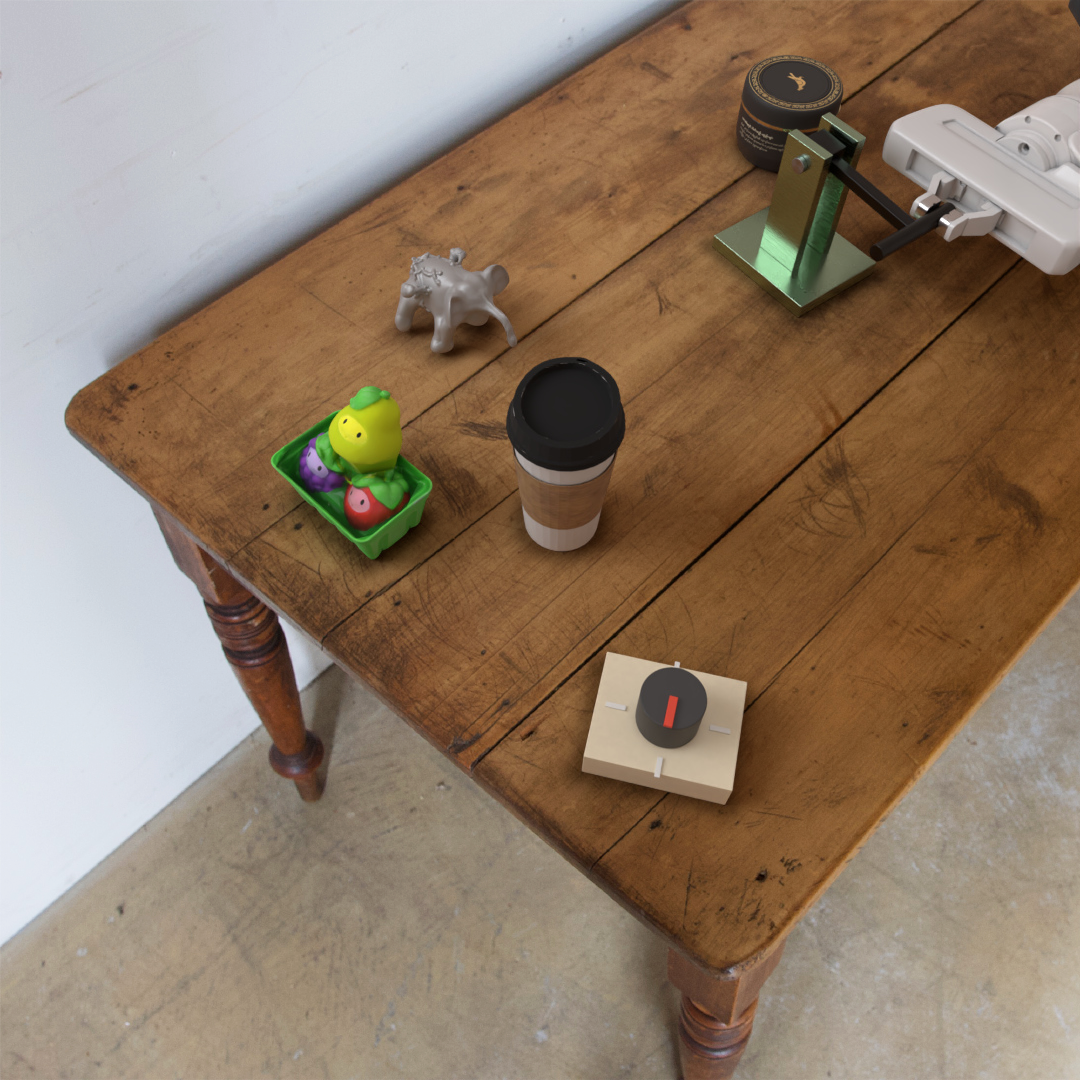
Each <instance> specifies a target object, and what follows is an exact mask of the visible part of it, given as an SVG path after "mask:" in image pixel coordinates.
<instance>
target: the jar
mask: <svg viewBox="0 0 1080 1080" xmlns="http://www.w3.org/2000/svg"><path fill="white" fill-rule="evenodd" d="M740 95H741V96H740V105H739V109H738V116H737V120H736V127H735V134H736V143H737V147H738V150H739V151H740V153H741V154H742V156H743V157H744V158H745V160H746V161H748V162H749V163H750V164H752V165H753V166H755V167H757V168H759V169H761V170H764V171H766V172H771V173H776V174H778V172H779V168H780V164H781V160H782V156H783V152H784V148H785V144H786V140H787V136H788V133H789V132H791V131H793V130H795V129H797V130H799V131H800V132H802V133H803V134H804V135H806V136H807V137H808V136H810V135H812V134H814V133H816V132H817V131H818V127H819V124H820V120H821V117H822V116H823V115H825V114H827V113H829V112H830V113H831V114H833V115H834V116H836V117H837V118H838V117H839V114H840V112H841V107H842V100H843V96H844V84H843V81H842V79H841V77H840V76H839V74H838V73H837V71H836V70H834V69H832V67H830V66H829V65H828V64H825V63H824V62H822V61H820V60H817V59H815V58H812V57H808V56H804V55H796V54H780V55H774V56H769V57H767V58H763V59H761V60H760V61H758V62H756V63H755V64H754V65H753V66H752V67H751V68H750V69H749V70H748V72H747V74H746V76H745V79H744V82H743V87H742V90H741V94H740Z"/></svg>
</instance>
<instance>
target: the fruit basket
mask: <svg viewBox="0 0 1080 1080" xmlns="http://www.w3.org/2000/svg"><path fill="white" fill-rule="evenodd" d="M402 446H403V430H402V426H401V409H400V406H399V404H398V402H397V401H396V399H394V398H393V397H392V396H391V392H390V391H389V390H385V389H383V390H382V389H381V388H379V387H377V386H375V385H367V386H364V387H362V388H360V389H359V390H358V392H357V393H356V395H355V396H354V397H351V398H350V399H349V404H348V405H346V406H344V407H343V408H342V409H337V410H335V411H333V412H331V413H330V414H329V415H327V416H326V417H325V418H323V419H322V420H319V421H318V422H317V423H315V424H313V426H311V427H310V428H308V429H307V430H305V431H303V432H302V433H301V434H299V435H298V436H297V437H296V438H294V439H292V440H291V441H290V442H288V443H287V444H285V445H283V446H282V447H281V448H280V449H279V450H278V451H276V452H275V453H274V454H273V455H272V456H271V459H270V464H271V466H272V467H273V469H275V470H276V472H277V473H278V474H279V475H280V476H282V478H284V479H285V480H286V481H287V482H288V483H289V484H290V485H291V486H292V487H293V488H294V490H295V491H296V492H297V493H298V495H299V496H300V497H301V498H302V499H303V500H304V501H306V503H307V504H309V505H310V506H311V507H313V508H315V509H316V510H317V512H318V513H319V514H320V515H321V516H322V517H323V518H324V519H325V520H327V521H328V523H330V524H331V525H333V526H335V528H337V530H338V531H339V532H340V533H341V534H342V535H343V536H344V537H345V538H346V539H347V540H349V541H350V542H351V543H354V544H355V545H356V546H357V548H358V549H359V550H360V551H361V552H362V553H363V554H364V555H365V556H367V558H368V559H369V560H372V561H373V560H376V559H377V558H379V556H380V554H382V552H383V551H385V550H386V549H389V548H391V547H392V546H393V545H394V544H395V543H396V542H398V541H399V540H401V538H403V537H404V536H405V535H406V534H407V533H408V532H409V529H412V528H414V527H416V526H418V525H419V523H420V522H421V519H422V516H423V513H424V509H425V506H426V502H427V500H428V499H429V497H430V494H431V493H432V489H433V482H432V480H431V479H430V477H428V476H427V475H425V474H424V473H423V472H422V471H421V470H419V468H417V467H416V466H415V465H414V464H412V463H411V462H410V461H409V460H408V459H407V458H405V457H404V456H403V455H402V454H400V452H401V450H402Z"/></svg>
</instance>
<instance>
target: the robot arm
mask: <svg viewBox="0 0 1080 1080" xmlns="http://www.w3.org/2000/svg"><path fill="white" fill-rule="evenodd" d="M1067 6H1068V9H1069V11H1070V13H1071V15H1072V16H1073V18H1074V20H1075V21H1076V23H1077V25H1078V26H1079V27H1080V0H1068V5H1067ZM881 154H882V156H881V159H882V160H883V162H884V163H885V164H887V165H888V166H890V167H891V168H892V169H894V170H895V171H897V172H898V173H900V174H901V175H903V176H904V177H906V178H907V179H908V180H909V181H911V182H913V183H914V184H916V185H917V186H919V187H920V188H922V189H923V190H924V191H926V192H925V193H923V194H921V195H919V196H918V197H917V198H916V199H915V200H914V201H913V202H912V205H911V207H910V210H909V216H910V217H912V218H913V219H914V220H917V219H919V218H920V217H922V216H924V215H925V214H927V213H929V212H931V211H932V210H934V209H936V208H938V207H939V206H941V204H944V203H946V202H950V203H952V204H954V206H955V207H956V210H955V209H954V210H952V211H950V212H949V214H945V215H944V216H943V217H942V218H941V219H940V220H939V222H938V227H937V228H936V229H934V233H935V234H937V235H938V236H940V237H941V238H942V239H943V240H945V241H946V242H947V243H951V242H952V241H953V240H955V239H957V238H958V237H960V236H961V237H976V236H977V237H982V236H986V234H987V235H990V236H991V237H992V238H994V239H995V240H997V241H998V242H1000V243H1001V244H1003V245H1004V246H1006V247H1007V248H1008V249H1010V250H1012V251H1013V252H1014V253H1016V254H1017V255H1019V256H1020V257H1022V258H1023V259H1024V260H1026V261H1027V262H1029V263H1030V264H1031V265H1033V266H1035V267H1036V268H1038V269H1039V270H1040V271H1042V272H1043V273H1045V274H1046V275H1050V276H1064V275H1066V274H1068V273H1069V272H1071V271H1073V270H1074V269H1075V268H1076V267H1078V266H1079V265H1080V78H1078V79H1076V80H1074V81H1072V82H1071V83H1069V84H1067V85H1066V86H1064V87H1063V88H1061V89H1060V90H1059V91H1058V92H1057V93H1056V94H1055V95H1050V96H1046V97H1044V98H1042V99H1040V100H1038V101H1036V102H1034V103H1033V104H1031V105H1029V106H1027V107H1025V108H1024V109H1022V110H1020V111H1018V112H1016V113H1015V114H1012V115H1011V116H1008V117H1007V118H1005V119H1004V120H1002V121H1001V122H999V123H998V124H996V126H995V127H993V126H991V125H989V124H987V123H986V122H984V121H983V120H981V119H980V118H978V117H976V116H975V115H973V114H971V113H969V111H967V110H966V109H964V108H961V107H960V106H957V105H956V104H955V105H954V104H951V103H942V104H941V103H940V104H935V105H931V106H928V107H925V108H922V109H920V110H917V111H913V112H911V113H908V114H906V115H904V116H902V117H900V118H899V117H898V118H897V119H896V120H894V121H893V122H892V123H891V124H890V127H889V129H888V131H887V134H886V137H885V139H884V143H883V146H882V153H881Z"/></svg>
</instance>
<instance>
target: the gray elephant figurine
mask: <svg viewBox="0 0 1080 1080" xmlns="http://www.w3.org/2000/svg"><path fill="white" fill-rule="evenodd" d="M467 255H468V254H467V251H466V250H464V249H462V248H461V247H452V248H450V249H449V257H448V258H446V257H445V256H444V257H442V255H440V254H438V255H434V254H431V252H430V251H426V252H425V253H424V254H422V255H420V256H419V255H418V256H417V257H416V256H412V257H411V258H410V259H411V261H412V262H411V265H410V270H409V272H408V275H409V277H408V279H406V281H405V282H402V283H401V285H400V286H401V287H400V291H399V292H400V295H399V302H398V305H397V309H396V313H395V317H394V323H395V327H396V328H397V330H399V331H400V332H402V333H406V332H408V331H409V330H410V329H411V327H412V325H413V321H414V320H413V319H414V317H415V314H416V312H417V310H419V308H420V309H423V310H424V309H425V311H426V312H428V313H431V315H432V316H433V319H434V331H433V336H432V338H431V341H430V349H431V352H433V353H434V354H445V353H448V352H450V351H451V350H453V348H454V346H455V343H454V339H453V337H454V335H455V333H456V331H457V328H458V326H459V325H460V324H465V323H466V324H469V325H471V326H475V327H480V326H483V325H485V324H486V323H487V322H488V320H489V318H490V317H493V318H495V319H497V321H499V323H500V324H501V325H502V326H503V329H504V331H505V334H506V341H507V343H508V346H509V347H510V348H515V347H517V344H518V337H517V335H516V332H515V329H514V326H513V325H512V323H511V321H510V319H509V317H508V316H507V315H506V314H505V313H504V312H503V311H502V310H501V309H500V308H498V307H497V306H496V305H495V303H494V297H497V296H499V295H501V294H502V293H503V291H505V289H506V288H507V287H508V285H509V284H510V275H509V272H508V271H507V268H505V267H504V266H503V265H501V264H497V263H496V264H495V263H494V264H491V265H488V266H487V267H486V268H485V269H484V270H475V271H469V270H467V269H465V268H464V267H463V265H462V262H463V260H465V259H466V258H467Z"/></svg>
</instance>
